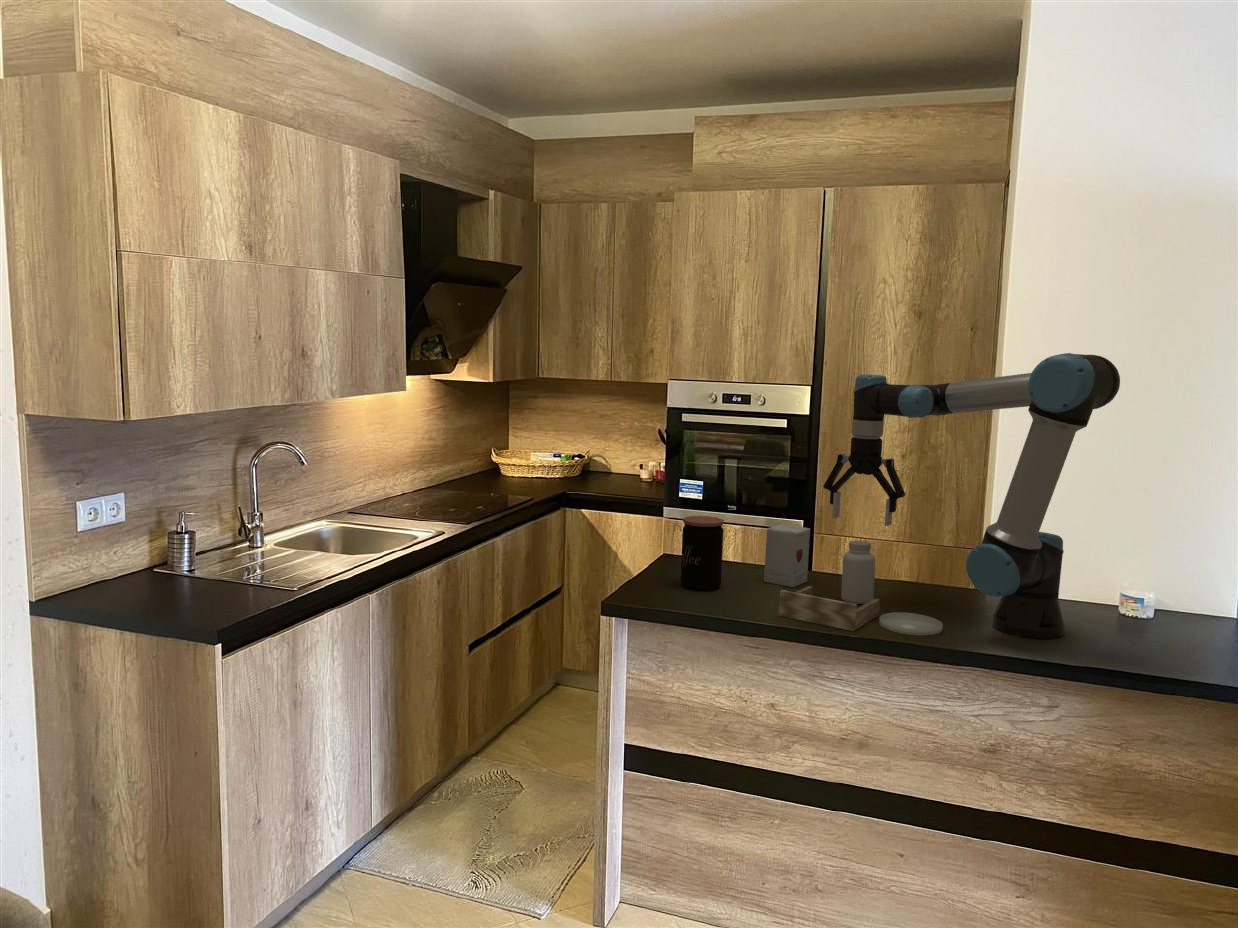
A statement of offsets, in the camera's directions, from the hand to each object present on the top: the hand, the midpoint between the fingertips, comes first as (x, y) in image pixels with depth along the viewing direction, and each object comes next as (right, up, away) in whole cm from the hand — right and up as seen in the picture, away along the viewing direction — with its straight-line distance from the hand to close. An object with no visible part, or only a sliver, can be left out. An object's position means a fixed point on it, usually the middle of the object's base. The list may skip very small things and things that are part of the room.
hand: (861, 521), depth 231 cm
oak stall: (-10, -22, -11) cm, 27 cm away
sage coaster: (+7, -23, -18) cm, 30 cm away
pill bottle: (0, -20, +2) cm, 21 cm away
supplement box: (-15, -18, +19) cm, 31 cm away
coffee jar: (-39, -18, +12) cm, 45 cm away
